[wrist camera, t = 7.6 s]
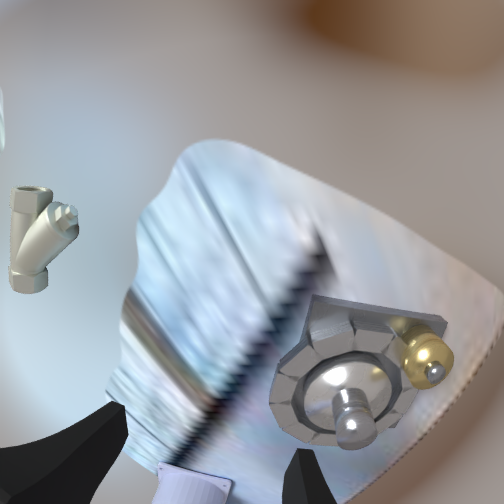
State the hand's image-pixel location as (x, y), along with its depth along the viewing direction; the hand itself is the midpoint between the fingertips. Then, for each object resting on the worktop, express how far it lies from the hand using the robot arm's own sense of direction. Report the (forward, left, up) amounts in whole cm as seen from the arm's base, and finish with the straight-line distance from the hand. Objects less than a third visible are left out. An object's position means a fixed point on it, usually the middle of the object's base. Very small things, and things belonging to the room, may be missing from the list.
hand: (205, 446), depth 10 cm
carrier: (-1, -9, -10) cm, 13 cm away
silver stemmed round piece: (-2, -8, -9) cm, 12 cm away
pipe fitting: (+4, +16, -10) cm, 20 cm away
